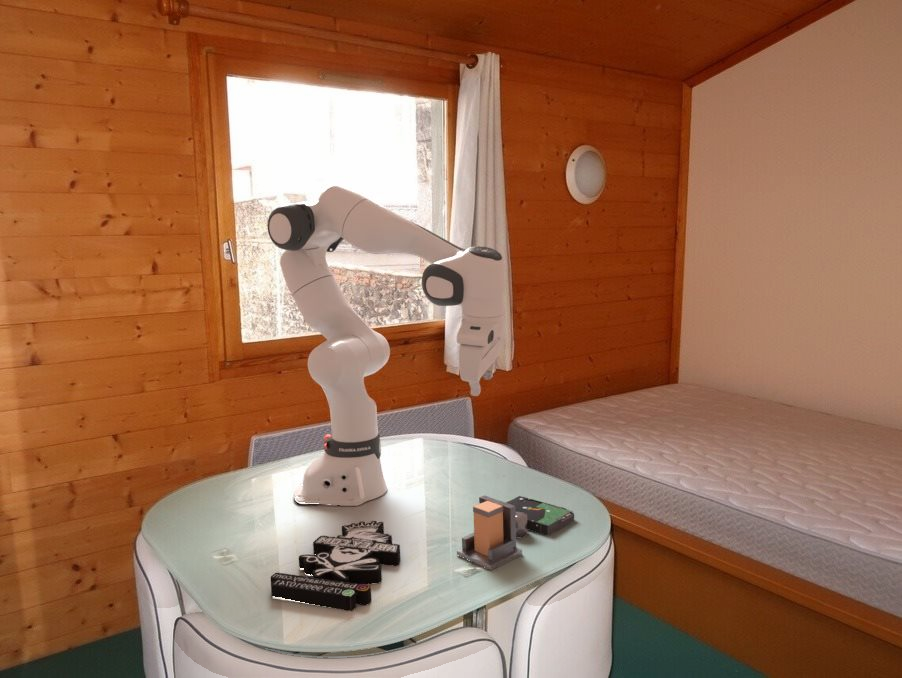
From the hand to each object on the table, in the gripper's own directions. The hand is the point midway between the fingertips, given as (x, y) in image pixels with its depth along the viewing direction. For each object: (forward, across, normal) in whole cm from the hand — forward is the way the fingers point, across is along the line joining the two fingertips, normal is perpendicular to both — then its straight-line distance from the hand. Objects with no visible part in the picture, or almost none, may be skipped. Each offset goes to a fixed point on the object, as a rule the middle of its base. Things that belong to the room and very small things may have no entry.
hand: (481, 386), depth 152 cm
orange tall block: (+25, +22, +8) cm, 34 cm away
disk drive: (+29, +3, +13) cm, 32 cm away
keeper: (+26, +22, +8) cm, 35 cm away
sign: (+27, +33, -16) cm, 46 cm away
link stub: (+27, +11, +12) cm, 32 cm away
